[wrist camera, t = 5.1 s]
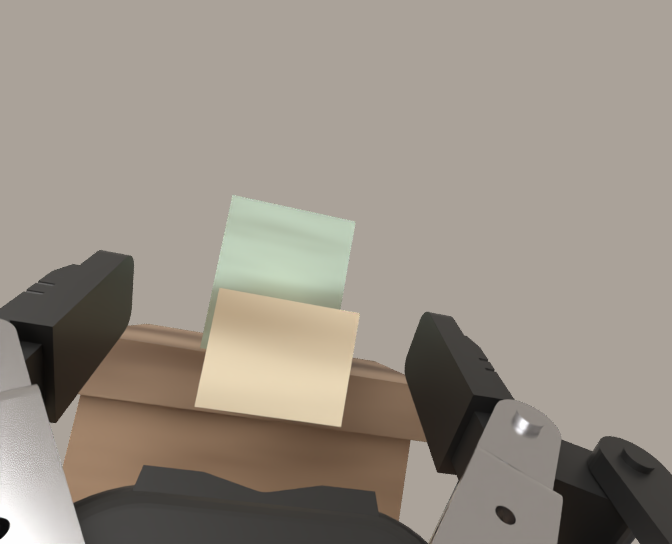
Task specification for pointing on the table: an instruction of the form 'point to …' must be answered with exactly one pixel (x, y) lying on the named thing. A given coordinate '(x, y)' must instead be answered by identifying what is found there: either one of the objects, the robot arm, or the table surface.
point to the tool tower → (232, 427)
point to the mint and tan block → (279, 316)
